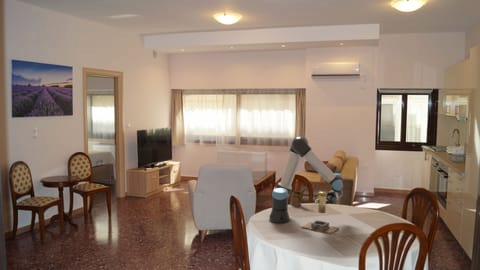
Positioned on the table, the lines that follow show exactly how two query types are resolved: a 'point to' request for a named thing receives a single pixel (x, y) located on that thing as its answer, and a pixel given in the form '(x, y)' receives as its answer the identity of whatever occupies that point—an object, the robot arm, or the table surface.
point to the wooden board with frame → (320, 227)
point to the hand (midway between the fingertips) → (319, 202)
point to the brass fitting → (322, 198)
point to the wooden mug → (296, 197)
